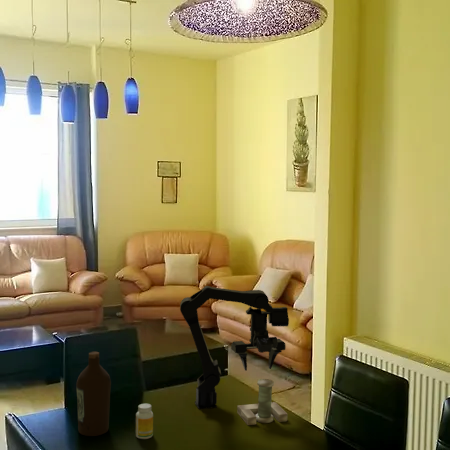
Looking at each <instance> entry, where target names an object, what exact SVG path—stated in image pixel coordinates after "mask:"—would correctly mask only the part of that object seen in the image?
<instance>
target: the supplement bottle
mask: <svg viewBox="0 0 450 450" xmlns="http://www.w3.org/2000/svg"><path fill="white" fill-rule="evenodd" d="M137 408H138V409H137V412H136V413H135V437H136V438H138V439H140V440H148V439H150V438H152V437H153V435H154V413H153V411H152V404H150V403H141V404H139V405H138V406H137Z"/></svg>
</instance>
